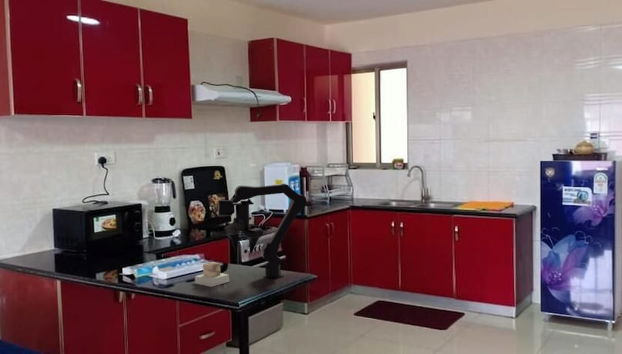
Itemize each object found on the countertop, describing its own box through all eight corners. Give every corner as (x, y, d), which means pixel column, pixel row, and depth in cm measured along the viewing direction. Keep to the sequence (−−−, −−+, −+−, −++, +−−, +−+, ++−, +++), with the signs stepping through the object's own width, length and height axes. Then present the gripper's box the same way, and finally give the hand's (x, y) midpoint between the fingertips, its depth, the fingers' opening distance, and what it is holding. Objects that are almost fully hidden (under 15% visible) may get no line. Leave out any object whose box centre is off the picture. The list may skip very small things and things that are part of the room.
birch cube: (212, 273, 246) (211, 261, 246) (220, 275, 243) (220, 263, 243) (203, 275, 242) (203, 264, 242) (211, 277, 239) (211, 265, 239)
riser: (212, 278, 250) (212, 271, 250) (229, 281, 244) (228, 274, 244) (195, 283, 242) (194, 276, 242) (211, 286, 236) (211, 279, 236)
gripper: (213, 215, 246) (214, 252, 247) (245, 219, 234) (246, 257, 235) (232, 212, 254) (233, 247, 256) (263, 216, 243) (264, 252, 244)
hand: (243, 251), depth 247 cm, fingers open, 9 cm apart
